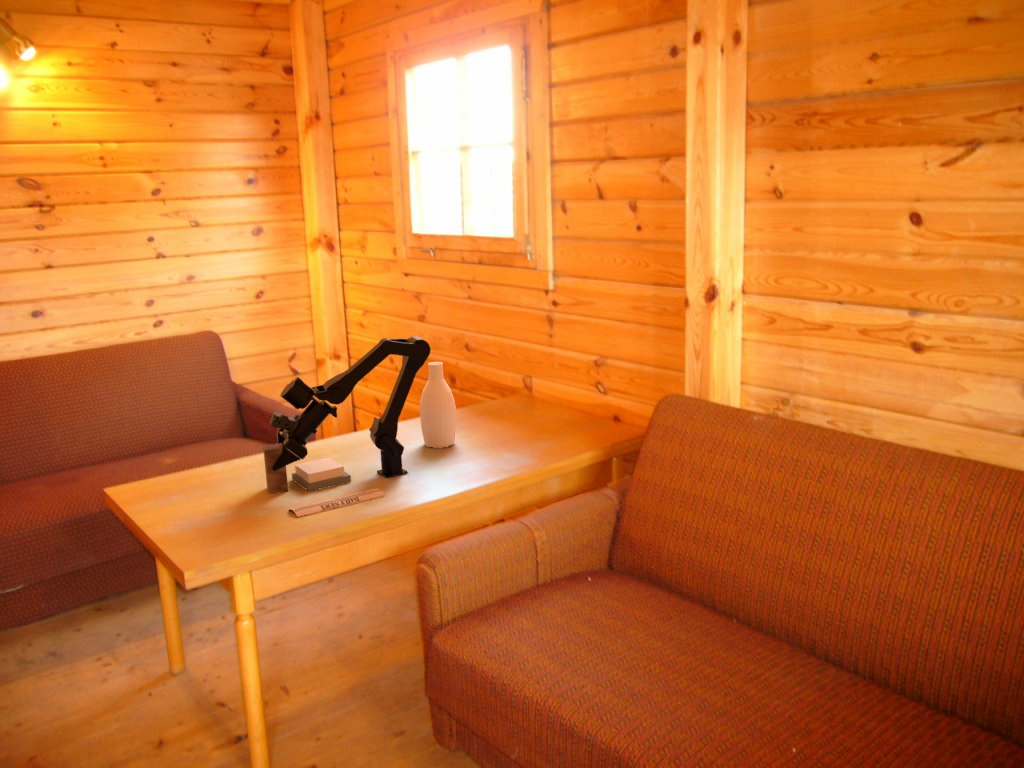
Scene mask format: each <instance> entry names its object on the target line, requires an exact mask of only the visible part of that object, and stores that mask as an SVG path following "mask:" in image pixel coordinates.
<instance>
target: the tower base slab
mask: <svg viewBox="0 0 1024 768" xmlns="http://www.w3.org/2000/svg"><path fill="white" fill-rule="evenodd" d="M351 478H352V477H351V474H349V473H347V472H346V471H344V476H339V477H335V478H330V479H326V480H321V481H317V482H312V483H308V482H307V481H306V480H304V479H303V478H301V477H300V476H299V475H297V474H296V472H292V473H291V480H292V479H293V480H294V481H296V482H297V483H298V484H297V483H296V482H295V483H296V484H297V485H299V484H300V485H301V486H300V485H299V486H300V487H302V486H303V487H304V488H303V487H302V488H303V489H305V488H306V489H307V490H308V491H307V490H306V489H305V490H306V491H307V492H309V491H310V492H313V491H312V490H314V491H317V490H316V489H318V490H320V489H319V488H323V489H325V488H324V487H327V488H329V487H328V486H331V487H334V486H333V485H335V486H339V485H338V484H340V485H342V484H341V483H344V484H347V483H346V482H348V483H351V482H352V479H351ZM293 480H292V481H293ZM294 481H293V482H294Z"/></svg>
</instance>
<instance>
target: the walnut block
mask: <svg viewBox="0 0 1024 768" xmlns="http://www.w3.org/2000/svg"><path fill="white" fill-rule="evenodd" d="M282 444H283V443H277V444H276V443H270V444H263V445H262V450H263V459H264V460H263V461H264V468H265V469H264V471H265V478H266V488H267V492H268V495H270V494H271V495H272V493H273V494H279V493H278V492H280V493H284V492H283V491H286V492H289V483H288V474H287V473H288V472H287V465H286V466H284V467H282V468H280V469H278V470H276V471H274V470H272V467H273V465H274V463H275V462H276V460H277V458H278V457H279V455H280V454H281V452H282Z"/></svg>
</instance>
